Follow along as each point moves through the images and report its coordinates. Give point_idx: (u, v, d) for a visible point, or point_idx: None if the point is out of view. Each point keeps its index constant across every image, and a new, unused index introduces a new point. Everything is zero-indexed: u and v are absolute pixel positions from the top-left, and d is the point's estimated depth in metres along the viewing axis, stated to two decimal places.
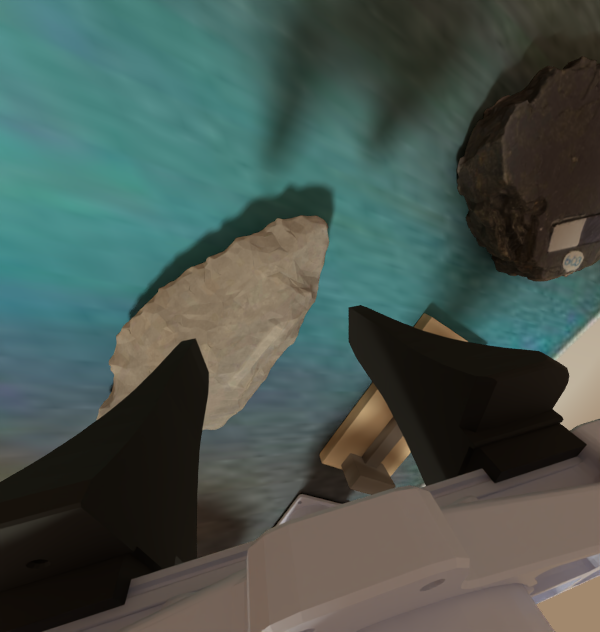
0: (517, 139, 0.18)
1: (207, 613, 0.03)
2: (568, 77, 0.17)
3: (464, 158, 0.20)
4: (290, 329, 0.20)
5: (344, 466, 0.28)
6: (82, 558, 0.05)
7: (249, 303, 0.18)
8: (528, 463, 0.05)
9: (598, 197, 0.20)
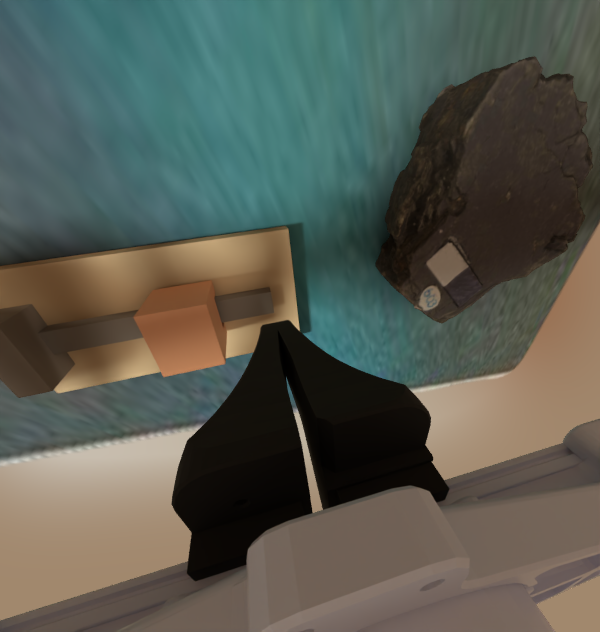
0: (507, 97, 0.14)
1: (207, 613, 0.03)
2: (569, 103, 0.15)
3: (453, 87, 0.16)
4: None
5: None
6: (273, 501, 0.05)
7: None
8: None
9: (487, 259, 0.19)
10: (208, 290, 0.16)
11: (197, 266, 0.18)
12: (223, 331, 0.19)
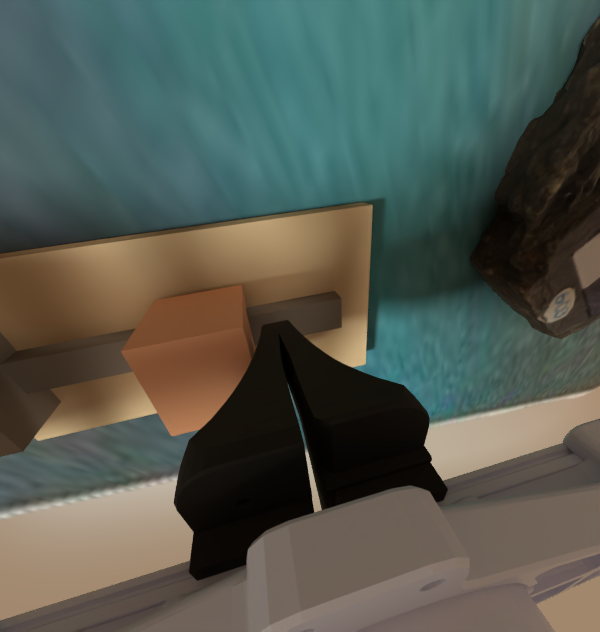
0: None
1: (207, 613, 0.03)
2: None
3: None
4: None
5: None
6: (274, 501, 0.05)
7: None
8: None
9: None
10: (240, 301, 0.10)
11: (237, 262, 0.12)
12: None
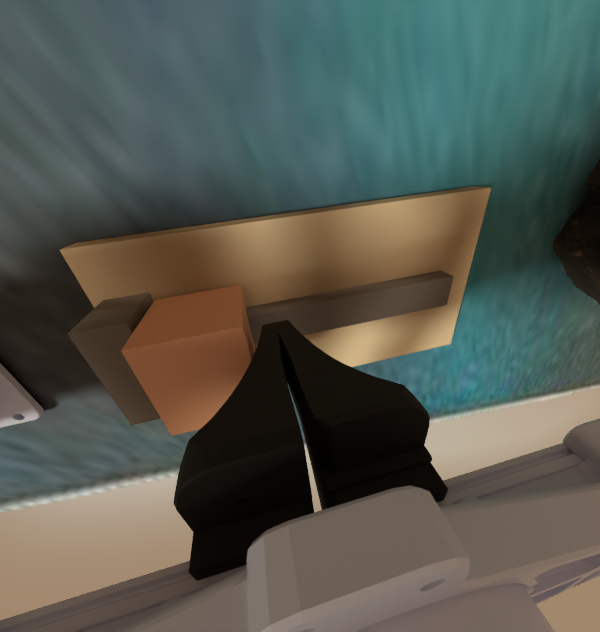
0: None
1: (207, 613, 0.03)
2: None
3: None
4: None
5: (108, 303, 0.11)
6: (274, 501, 0.05)
7: None
8: None
9: None
10: (240, 301, 0.11)
11: (366, 240, 0.13)
12: None
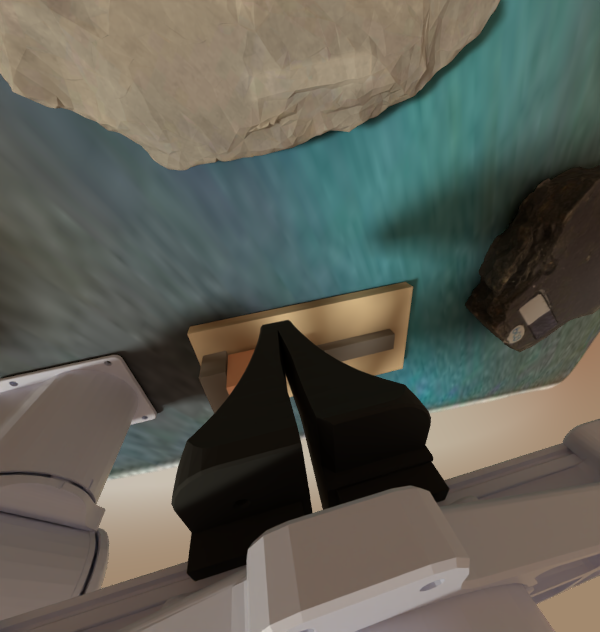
0: (598, 195, 0.19)
1: (207, 613, 0.03)
2: None
3: (550, 181, 0.20)
4: (372, 93, 0.13)
5: (207, 358, 0.21)
6: (273, 501, 0.05)
7: None
8: None
9: (564, 303, 0.24)
10: None
11: (343, 317, 0.23)
12: None
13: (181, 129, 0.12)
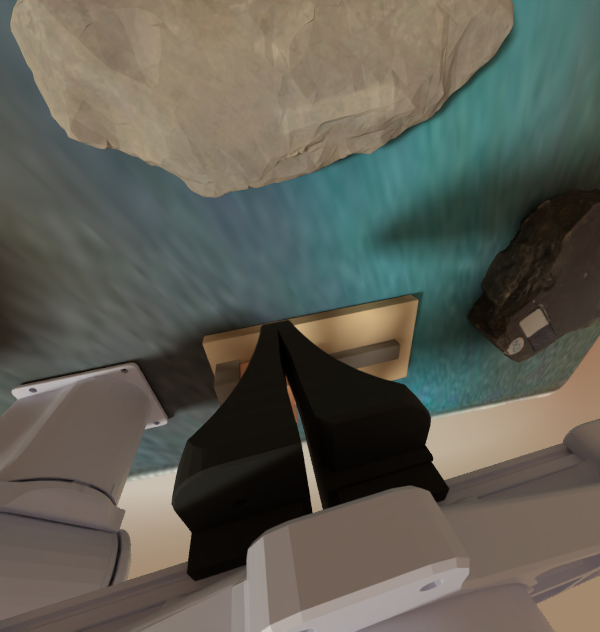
0: (595, 217, 0.20)
1: (207, 613, 0.03)
2: None
3: (550, 202, 0.22)
4: (393, 119, 0.14)
5: (220, 366, 0.22)
6: (273, 501, 0.05)
7: (393, 15, 0.12)
8: None
9: (562, 317, 0.25)
10: None
11: (351, 328, 0.24)
12: None
13: (218, 162, 0.13)
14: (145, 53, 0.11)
